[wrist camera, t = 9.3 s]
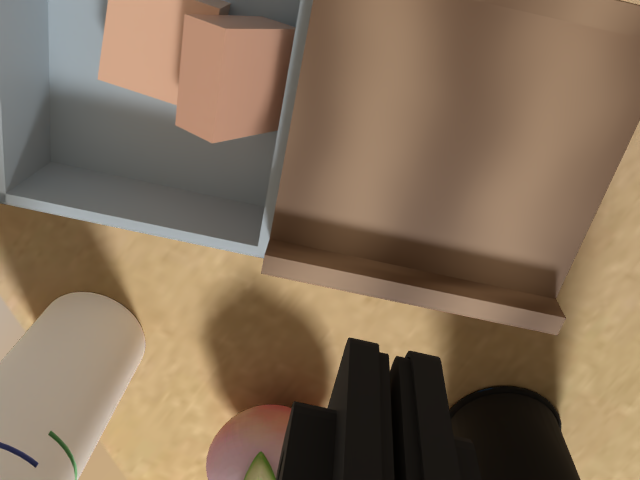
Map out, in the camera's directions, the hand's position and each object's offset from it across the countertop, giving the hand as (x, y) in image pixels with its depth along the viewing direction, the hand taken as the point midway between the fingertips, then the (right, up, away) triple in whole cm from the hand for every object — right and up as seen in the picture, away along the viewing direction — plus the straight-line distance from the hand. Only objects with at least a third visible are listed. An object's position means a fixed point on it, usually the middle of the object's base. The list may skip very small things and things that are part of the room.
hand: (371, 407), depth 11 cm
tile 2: (-9, +12, +17) cm, 22 cm away
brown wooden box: (+5, +10, +20) cm, 23 cm away
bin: (-9, +13, +20) cm, 25 cm away
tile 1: (-4, +10, +16) cm, 20 cm away
